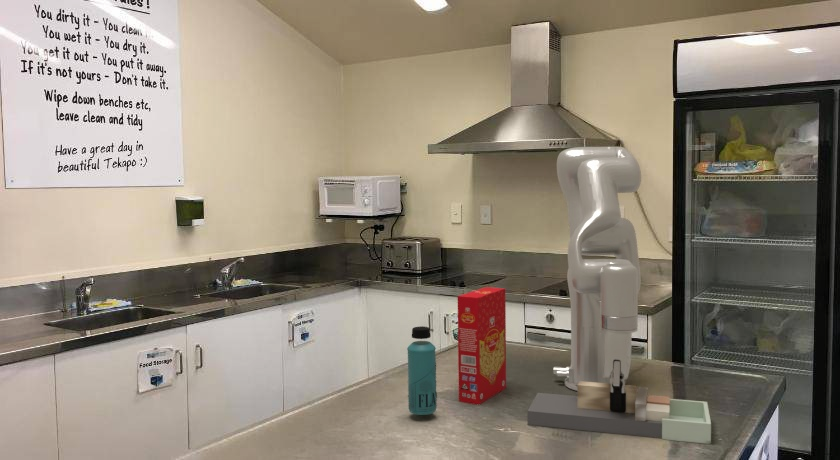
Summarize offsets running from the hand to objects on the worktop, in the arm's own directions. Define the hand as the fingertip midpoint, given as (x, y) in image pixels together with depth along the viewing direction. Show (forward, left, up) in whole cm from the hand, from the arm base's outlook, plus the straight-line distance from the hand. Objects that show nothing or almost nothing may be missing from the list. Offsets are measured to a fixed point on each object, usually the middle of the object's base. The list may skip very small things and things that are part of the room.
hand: (618, 407), depth 150 cm
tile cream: (+8, -3, 0) cm, 8 cm away
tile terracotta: (+8, +3, 0) cm, 9 cm away
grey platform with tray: (0, 0, -3) cm, 3 cm away
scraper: (-1, 0, 0) cm, 1 cm away
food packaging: (-32, +11, -4) cm, 34 cm away
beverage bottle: (-41, -8, -4) cm, 42 cm away
